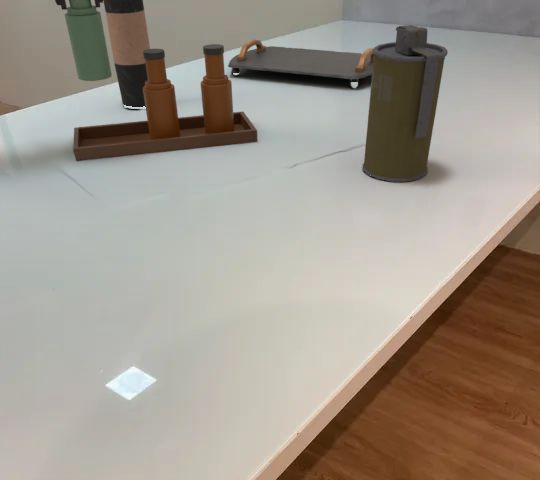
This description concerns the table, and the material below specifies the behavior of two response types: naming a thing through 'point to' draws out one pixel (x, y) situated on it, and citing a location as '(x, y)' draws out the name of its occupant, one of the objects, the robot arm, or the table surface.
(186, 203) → the table surface
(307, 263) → the table surface
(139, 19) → the travel mug
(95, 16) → the green bottle
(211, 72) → the amber bottle far
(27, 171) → the table surface
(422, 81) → the canister
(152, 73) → the amber bottle mid
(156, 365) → the table surface
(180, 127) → the row tray
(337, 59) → the serving tray
